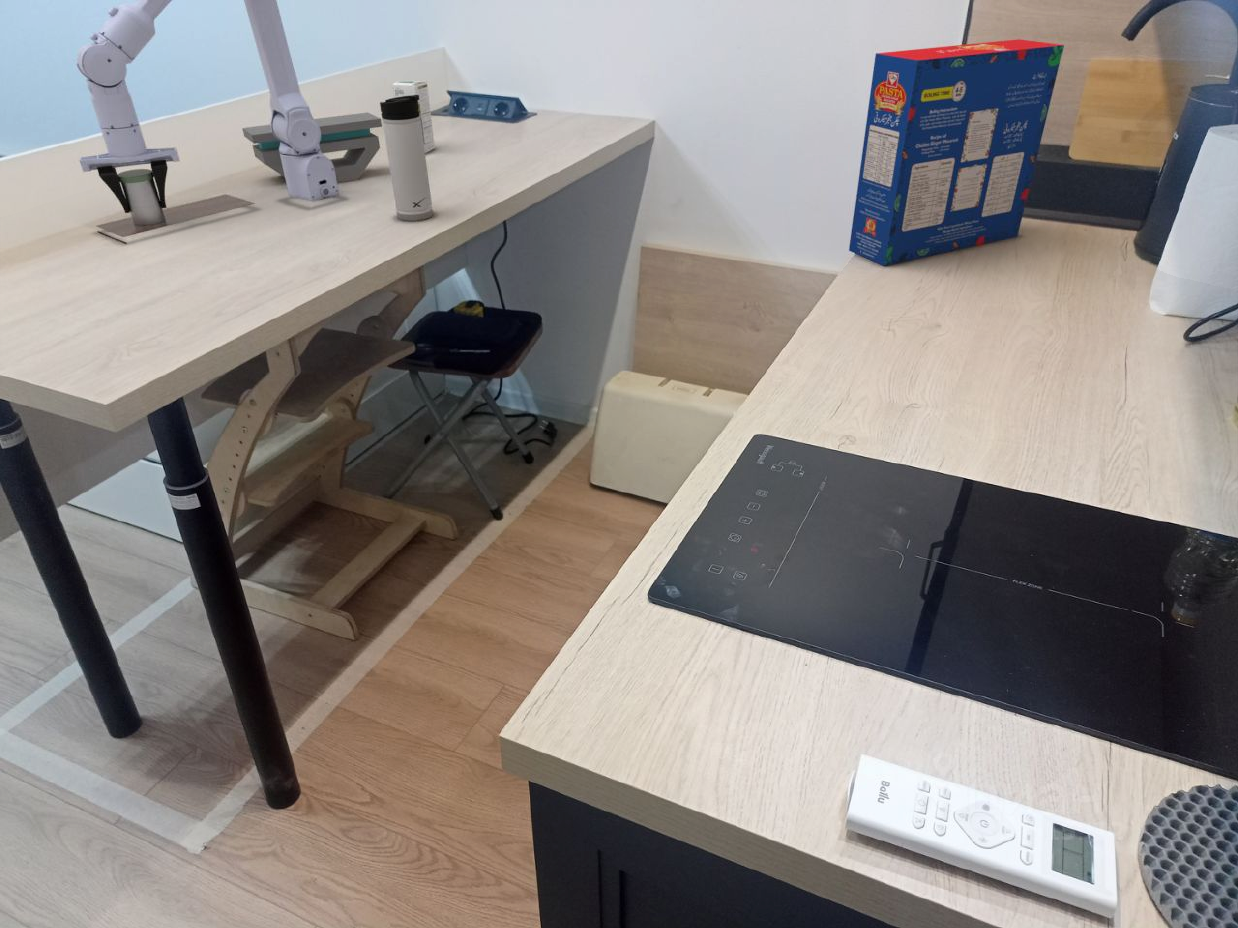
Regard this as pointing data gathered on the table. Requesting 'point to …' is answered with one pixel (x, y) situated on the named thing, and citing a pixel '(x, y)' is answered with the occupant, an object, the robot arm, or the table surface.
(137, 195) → the tin
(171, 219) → the board
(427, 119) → the syrup box
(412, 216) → the travel mug
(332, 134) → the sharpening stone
